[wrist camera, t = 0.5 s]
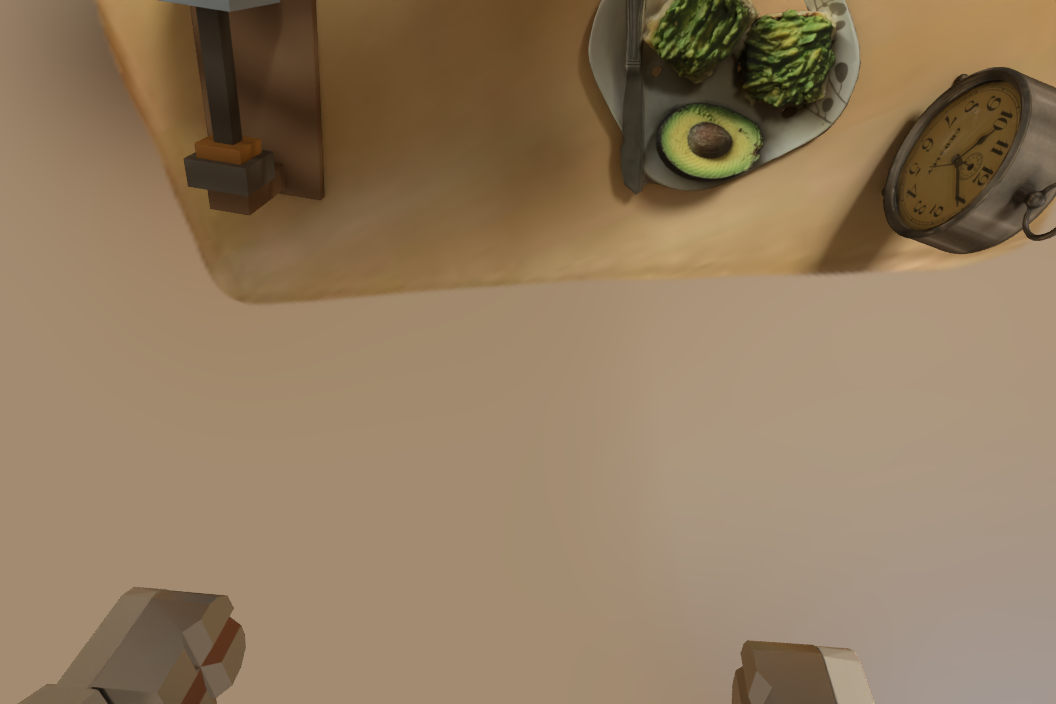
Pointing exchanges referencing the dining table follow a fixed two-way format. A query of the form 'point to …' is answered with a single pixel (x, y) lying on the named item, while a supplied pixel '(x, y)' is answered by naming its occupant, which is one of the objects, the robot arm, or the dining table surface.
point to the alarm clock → (976, 164)
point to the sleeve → (225, 4)
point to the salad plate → (719, 84)
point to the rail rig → (258, 105)
